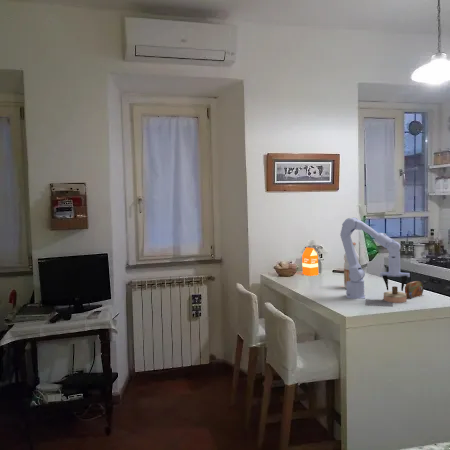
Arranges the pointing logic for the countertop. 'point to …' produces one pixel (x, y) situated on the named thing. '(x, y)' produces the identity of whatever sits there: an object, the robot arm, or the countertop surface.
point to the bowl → (395, 299)
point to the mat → (378, 303)
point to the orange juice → (310, 262)
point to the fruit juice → (346, 267)
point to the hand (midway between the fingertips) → (394, 290)
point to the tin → (414, 289)
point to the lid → (395, 293)
